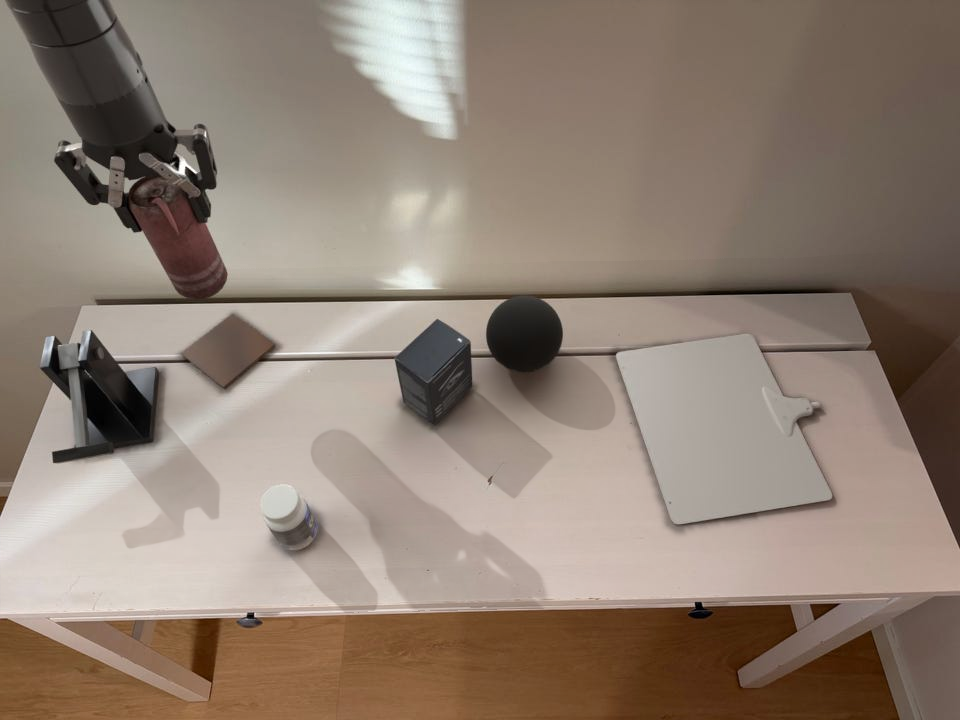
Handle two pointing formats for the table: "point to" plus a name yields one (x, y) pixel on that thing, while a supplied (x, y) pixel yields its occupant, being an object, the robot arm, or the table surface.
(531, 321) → the decorative ball
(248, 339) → the coaster
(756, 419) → the clipboard
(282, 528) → the pill bottle
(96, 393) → the bracket
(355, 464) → the table surface
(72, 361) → the lever
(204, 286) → the can
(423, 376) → the box
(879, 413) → the table surface
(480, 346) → the table surface
